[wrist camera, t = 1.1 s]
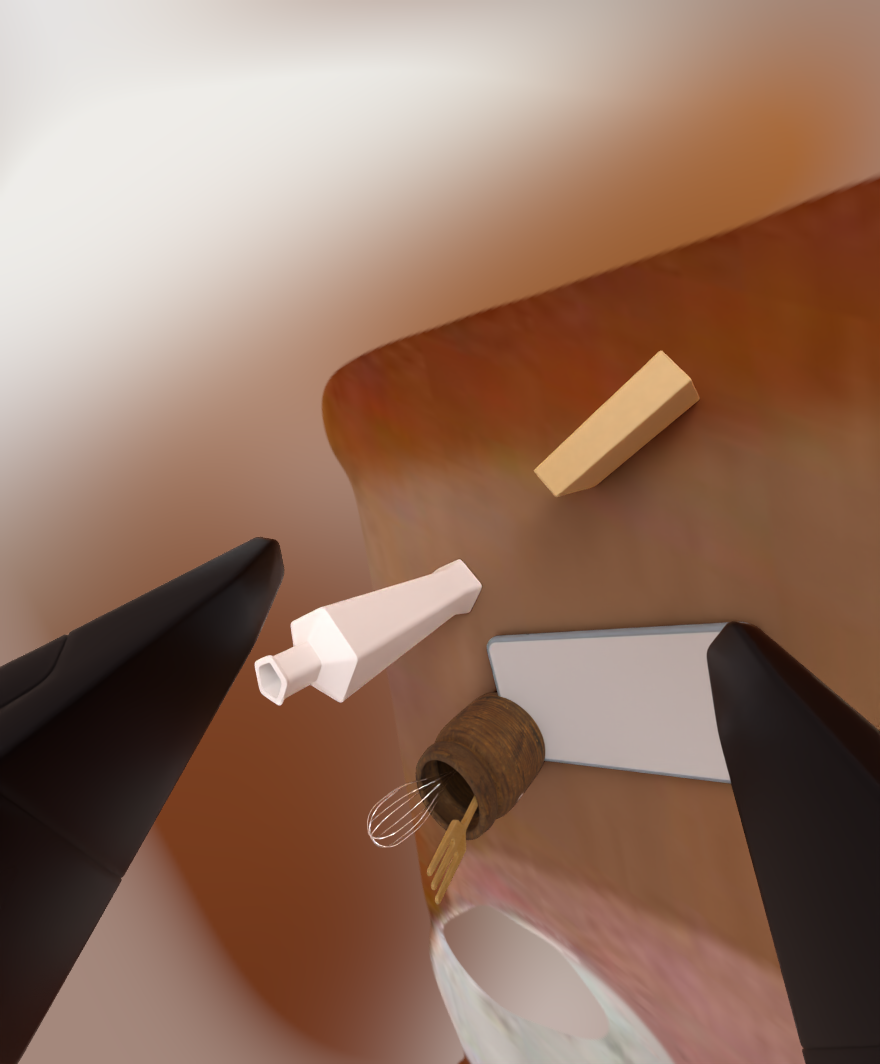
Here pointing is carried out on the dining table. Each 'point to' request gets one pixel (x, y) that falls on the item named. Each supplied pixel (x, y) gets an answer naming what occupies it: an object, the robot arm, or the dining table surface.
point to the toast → (619, 427)
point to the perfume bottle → (365, 634)
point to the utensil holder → (474, 776)
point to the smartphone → (618, 697)
